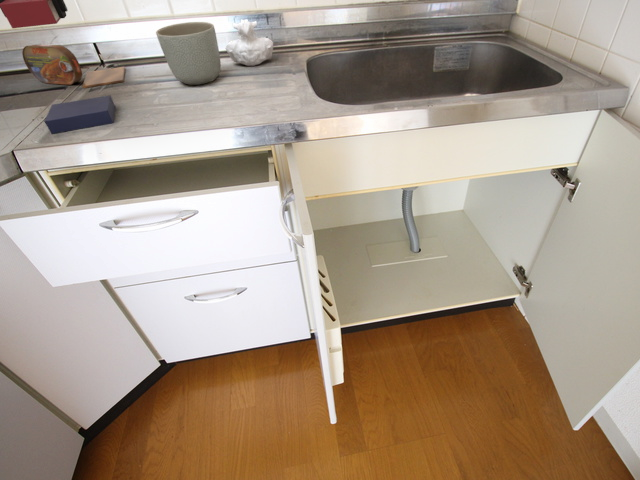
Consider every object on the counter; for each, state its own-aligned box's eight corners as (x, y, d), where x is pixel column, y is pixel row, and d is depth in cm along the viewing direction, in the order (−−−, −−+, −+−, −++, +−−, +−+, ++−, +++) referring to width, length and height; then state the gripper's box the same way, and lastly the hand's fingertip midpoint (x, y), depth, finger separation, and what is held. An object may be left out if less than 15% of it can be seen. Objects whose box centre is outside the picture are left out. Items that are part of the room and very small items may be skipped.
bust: (231, 75, 102) (221, 44, 91) (227, 49, 103) (217, 16, 92) (277, 70, 103) (273, 39, 92) (273, 44, 104) (268, 11, 93)
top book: (12, 28, 66) (-2, 4, 63) (25, 16, 73) (13, -6, 70) (57, 23, 67) (45, -1, 65) (65, 12, 74) (55, -10, 72)
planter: (164, 89, 90) (145, 36, 82) (186, 71, 99) (171, 22, 91) (215, 89, 88) (200, 35, 81) (233, 71, 97) (221, 21, 90)
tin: (34, 82, 98) (13, 45, 92) (45, 78, 100) (25, 41, 94) (80, 86, 94) (61, 48, 88) (90, 82, 96) (72, 44, 90)
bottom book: (51, 134, 75) (44, 121, 73) (58, 116, 81) (51, 104, 79) (113, 123, 77) (107, 110, 75) (115, 107, 83) (110, 95, 82)
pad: (83, 88, 93) (82, 86, 93) (88, 74, 101) (87, 72, 101) (123, 82, 95) (122, 79, 95) (125, 68, 103) (124, 66, 103)
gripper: (41, -121, 62) (94, 10, 75) (-89, -117, 58) (-10, 21, 71) (31, -123, 57) (90, 17, 70) (-113, -119, 53) (-23, 30, 65)
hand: (39, 18), depth 70 cm, fingers closed on top book, 6 cm apart
